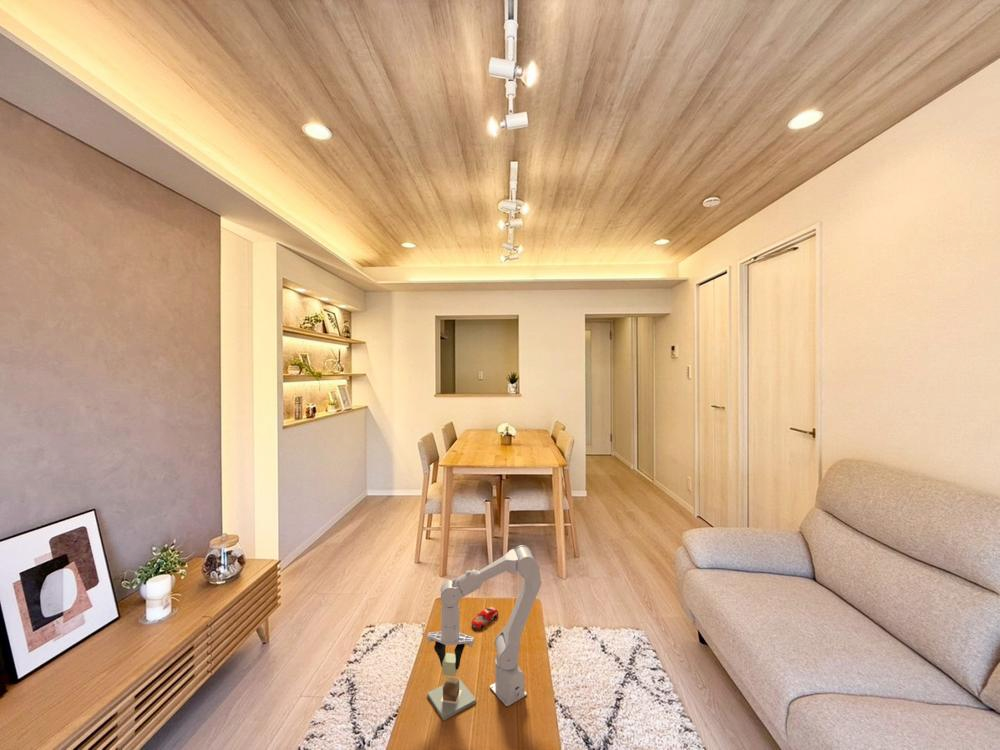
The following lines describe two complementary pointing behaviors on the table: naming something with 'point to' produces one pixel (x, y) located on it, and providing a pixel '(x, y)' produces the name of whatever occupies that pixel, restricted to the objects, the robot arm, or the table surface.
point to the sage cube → (449, 665)
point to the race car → (484, 618)
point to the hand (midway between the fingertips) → (450, 666)
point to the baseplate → (451, 707)
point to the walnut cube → (451, 689)
